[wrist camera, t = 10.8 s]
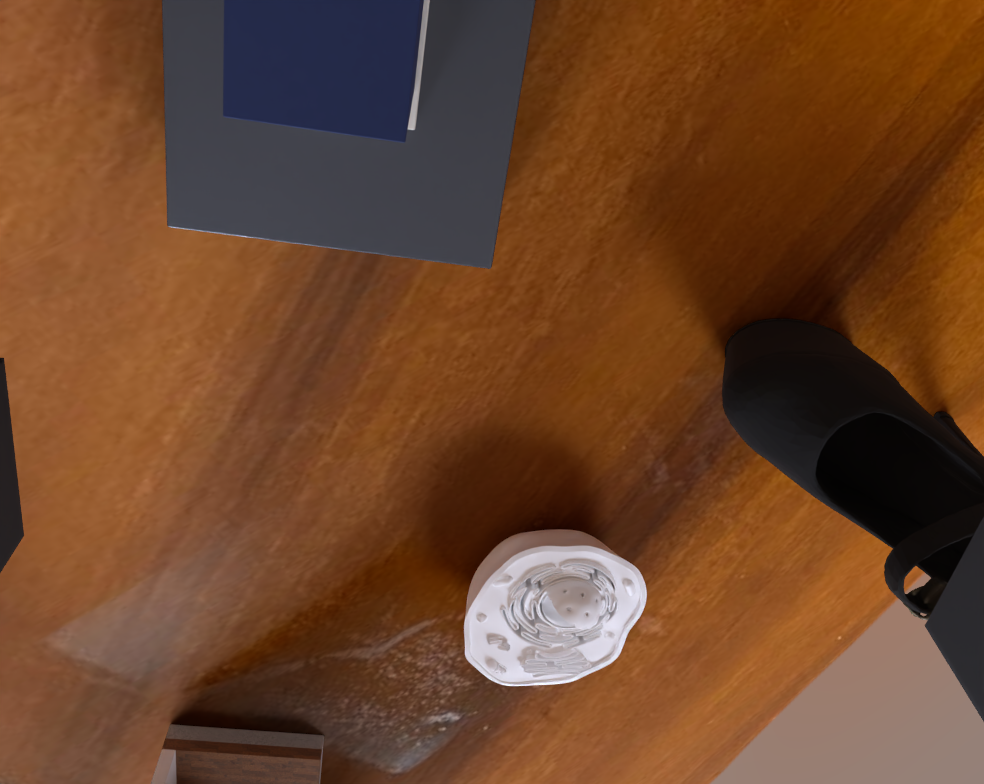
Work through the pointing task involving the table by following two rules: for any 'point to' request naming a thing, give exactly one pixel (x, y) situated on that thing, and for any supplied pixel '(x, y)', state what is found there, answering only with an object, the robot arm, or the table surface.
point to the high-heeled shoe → (858, 446)
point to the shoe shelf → (352, 145)
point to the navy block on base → (325, 64)
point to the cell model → (550, 608)
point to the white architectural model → (238, 757)
